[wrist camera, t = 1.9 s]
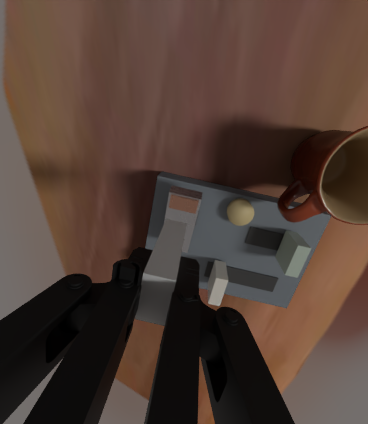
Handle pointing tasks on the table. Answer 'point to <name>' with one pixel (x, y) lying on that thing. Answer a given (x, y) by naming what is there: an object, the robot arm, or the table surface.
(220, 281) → the pale grey cuboid
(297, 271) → the grey block
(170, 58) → the table surface
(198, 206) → the block
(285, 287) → the console
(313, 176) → the mug
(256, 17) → the table surface
